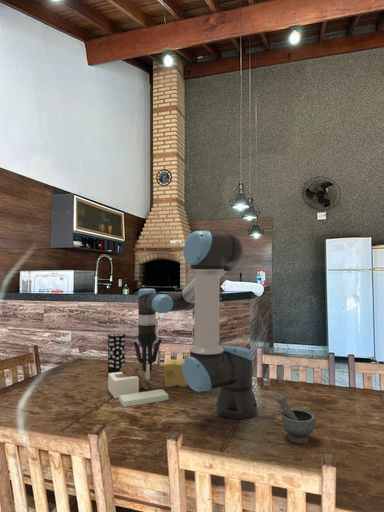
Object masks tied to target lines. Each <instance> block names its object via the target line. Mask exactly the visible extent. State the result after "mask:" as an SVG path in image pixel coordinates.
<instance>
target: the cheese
mask: <svg viewBox="0 0 384 512" xmlns="http://www.w3.org/2000/svg"><path fill="white" fill-rule="evenodd" d="M185 359H186V358H182V359H181V358H180V359H166V362H165V364H164V386H165V387H166V388H167V387H169V388H170V387H173V388H174V387H181V388H183V387H185V388H188V386H189V385H188V384H187V382H186V380H185V378H184V374H183V362H184V360H185Z"/></svg>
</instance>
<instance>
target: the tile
mask: <svg viewBox="0 0 384 512" xmlns="http://www.w3.org/2000/svg"><path fill="white" fill-rule="evenodd" d="M120 371H121V372H122V373H123V374H125V375H126V376H128V377H130V376H137V377H139V387H142V388H143V389H144V390H146V391H149V389H150V388H151V386H152V383H151V382H149V381H148V380H146V379H145V377H143V376H141V375H140V374H139V373H137V372H136V371H134V370H133V369H132V368H131V367H129V366H127V364H126V363H125V364H124V365H123V366H122V367H121V369H120Z"/></svg>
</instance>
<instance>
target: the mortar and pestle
mask: <svg viewBox="0 0 384 512" xmlns="http://www.w3.org/2000/svg"><path fill="white" fill-rule="evenodd" d="M276 400H277V403H278V404H279V405H280V407H281V409H282V412H281V421H282V426H283V429H284V430H285V432H286V433H287V440H289V441H291V442H292V443H295V444H297V443H298V444H306V443H308V442H309V441H310V437H309V435H311V433H312V432H313V431H314V430H315V423H316V421H315V419H316V418H315V415H314V414H313V413H311V412H308V411H307V410H302V409H292V407H291V405H290V404H289V403H288V401H287V398H286V395H281V396H279V397H277V399H276Z"/></svg>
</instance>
